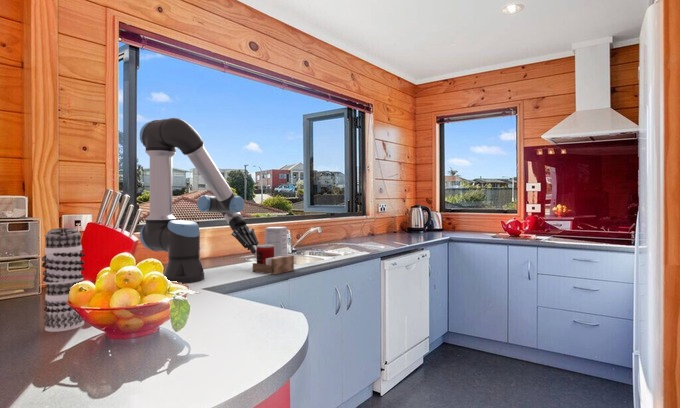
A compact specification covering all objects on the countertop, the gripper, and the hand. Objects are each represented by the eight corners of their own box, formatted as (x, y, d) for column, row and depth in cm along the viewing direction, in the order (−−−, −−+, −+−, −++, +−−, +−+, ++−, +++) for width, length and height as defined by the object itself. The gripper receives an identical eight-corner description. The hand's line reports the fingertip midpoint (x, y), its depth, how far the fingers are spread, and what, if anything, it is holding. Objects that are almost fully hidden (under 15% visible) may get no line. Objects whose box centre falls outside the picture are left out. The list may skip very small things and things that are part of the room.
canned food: (276, 268, 186) (276, 244, 186) (269, 271, 178) (269, 246, 178) (261, 267, 188) (261, 244, 187) (253, 271, 180) (253, 246, 180)
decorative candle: (94, 321, 108) (93, 227, 108) (69, 332, 99) (67, 230, 98) (61, 320, 109) (60, 227, 108) (33, 332, 99) (31, 230, 99)
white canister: (288, 257, 219) (287, 226, 219) (282, 260, 210) (282, 227, 209) (271, 257, 221) (270, 226, 220) (264, 260, 212) (264, 227, 211)
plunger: (268, 272, 176) (268, 258, 176) (264, 271, 177) (264, 258, 177) (283, 268, 183) (282, 256, 183) (279, 268, 184) (279, 255, 184)
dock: (274, 274, 172) (273, 259, 171) (252, 271, 179) (252, 256, 179) (293, 270, 182) (293, 255, 182) (272, 267, 189) (272, 253, 189)
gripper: (242, 224, 203) (265, 261, 194) (220, 226, 192) (245, 265, 183) (249, 214, 200) (274, 251, 191) (228, 215, 189) (253, 254, 180)
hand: (259, 258), depth 187 cm, fingers closed
